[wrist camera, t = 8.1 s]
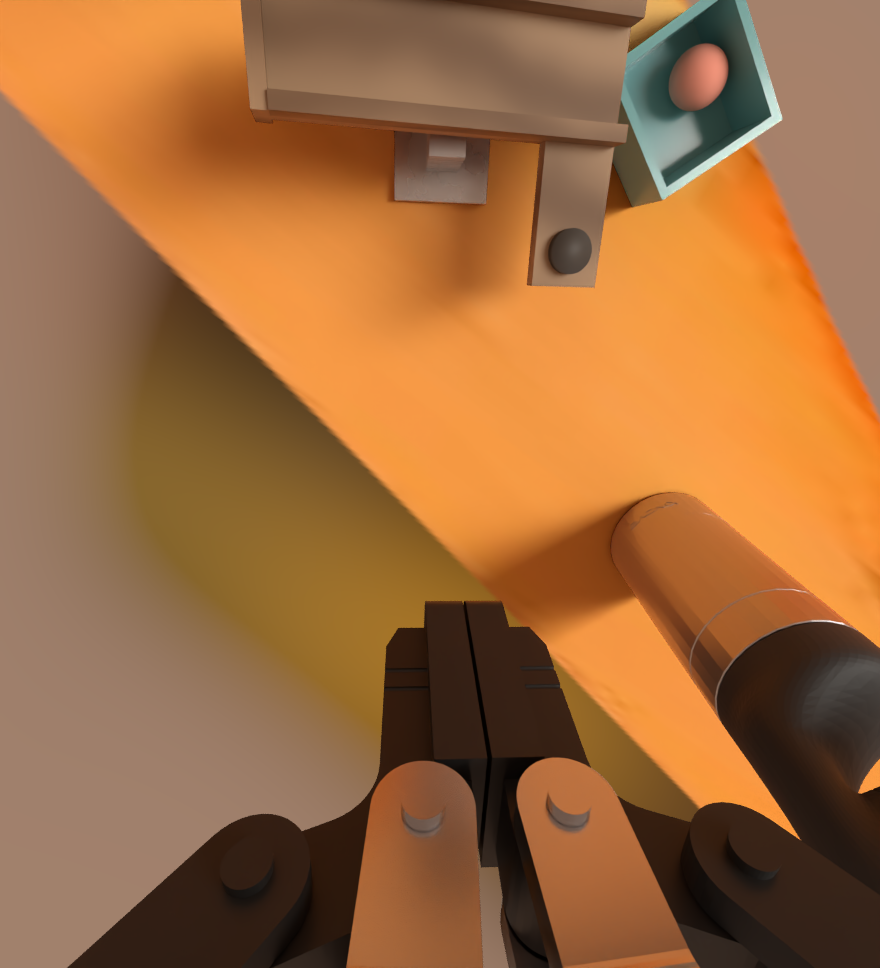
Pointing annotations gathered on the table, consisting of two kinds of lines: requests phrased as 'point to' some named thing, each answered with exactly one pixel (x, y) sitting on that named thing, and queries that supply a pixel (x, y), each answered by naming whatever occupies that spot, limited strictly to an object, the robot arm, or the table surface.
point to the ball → (698, 77)
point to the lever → (464, 90)
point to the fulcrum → (441, 168)
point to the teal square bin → (691, 134)
